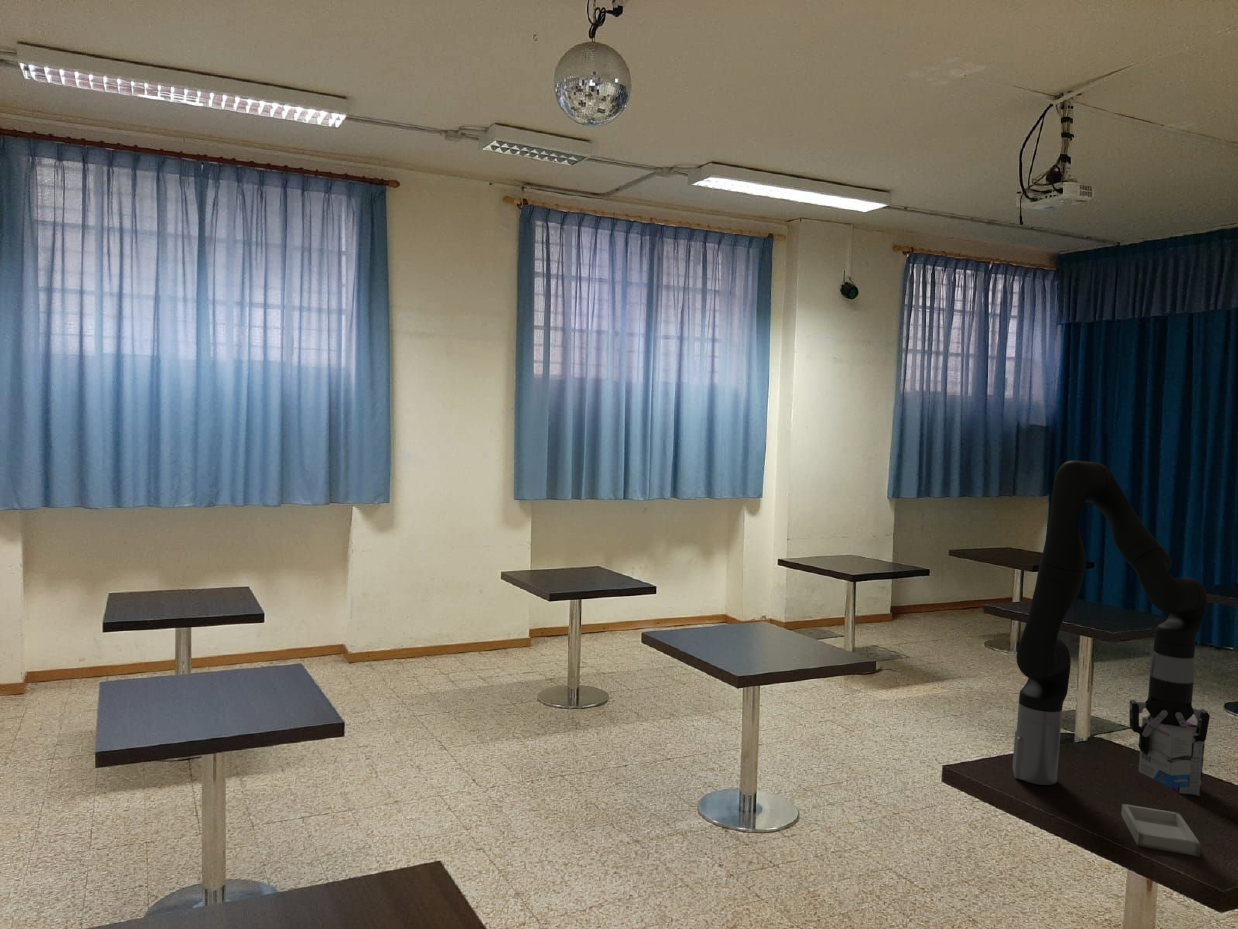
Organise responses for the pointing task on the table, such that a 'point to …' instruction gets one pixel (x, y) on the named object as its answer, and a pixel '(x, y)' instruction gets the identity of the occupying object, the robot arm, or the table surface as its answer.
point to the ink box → (1168, 755)
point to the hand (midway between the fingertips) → (1165, 756)
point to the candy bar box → (1194, 765)
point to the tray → (1160, 830)
